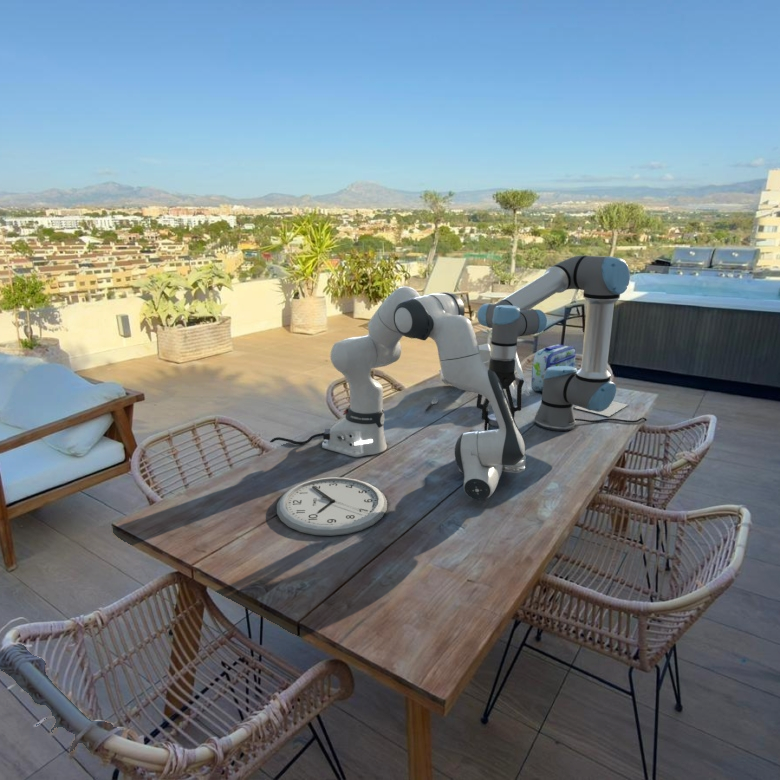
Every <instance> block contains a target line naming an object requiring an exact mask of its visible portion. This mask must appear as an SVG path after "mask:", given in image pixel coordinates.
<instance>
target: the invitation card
mask: <svg viewBox="0 0 780 780" xmlns="http://www.w3.org/2000/svg"><path fill="white" fill-rule="evenodd" d="M628 406H629V404H627V403H623V402H618V401H614V400H613V401H612V403H611V404H610V405H609V407H608V408H607V409H605V410H604V411H601V412H596V411H593V410H588V409H585V408H582V407H579V406H576V405H575V406H574V407H573V409H575V410H581V411H584V412H587V413H593V414H596V415H600V416H604V417H608V418H609V417H611V416H613V415H614V414H616V413H617V412H619V411H621V410H623V409H624V408H626V407H628Z"/></svg>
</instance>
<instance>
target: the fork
mask: <svg viewBox="0 0 780 780" xmlns="http://www.w3.org/2000/svg"><path fill="white" fill-rule="evenodd" d="M438 401H439V398H438V397H435V396H433V398H432V399H431V401H430V404H429V405H428V406H427V408H426V409H425V412H427V411H428V410H429V409H431V408H432V406H433V405H437V404H438Z"/></svg>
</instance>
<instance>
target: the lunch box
mask: <svg viewBox="0 0 780 780" xmlns="http://www.w3.org/2000/svg"><path fill="white" fill-rule="evenodd" d="M576 357H577V355H576V347H575V346H569V345H565V344H554V345H550V346H547V347H544V348H542V349H541V348H540V349H539V350H537V351H536V352H535V353H534V356H533V360H532V367H531V368H532V369H531V382H530V383H531V386H530V387H531V389H532V390H533V391H537V392H542V391H543V381H544V379H543V378H544V375H545V371H546V369H547V368H549V367H555V366H571V367H575V364H576Z"/></svg>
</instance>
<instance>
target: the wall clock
mask: <svg viewBox="0 0 780 780" xmlns="http://www.w3.org/2000/svg"><path fill="white" fill-rule="evenodd" d="M387 509H388V500H387V498H386V496H385V494H384V493H383V492H382V491H381V490H380V489H379V488H377V487H376V486H374V485H372V484H371V483H369V482H365V481H362V480H359V479H355V478H349V477H338V476H337V477H335V476H333V477H332V476H331V477H322V478H317V479H312V480H307V481H305V482H302V483H299V484H297V485H295V486H293V487H292V488H290V489H288V490H287V491H286V492H285V493H284V494H283V495H281V496H280V498H279V499H278V502H277V503H276V515H277V517H278V518H279V520H280V521H281V522H282V523H283V524H285V525H286V526H287V527H288V528H290V529H293V530H295V531H297V532H299V533H303V534H308V535H312V536H327V537H328V536H329V537H331V536H332V537H333V536H342V535H350V534H352V533H356V532H361V531H363V530H366V529H368V528H369V527H372V526H373V525H375V524H376V523H378V522H379V521H380V520H381V519H382V518H383V517H384V516H385V514H386V512H387Z"/></svg>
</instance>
